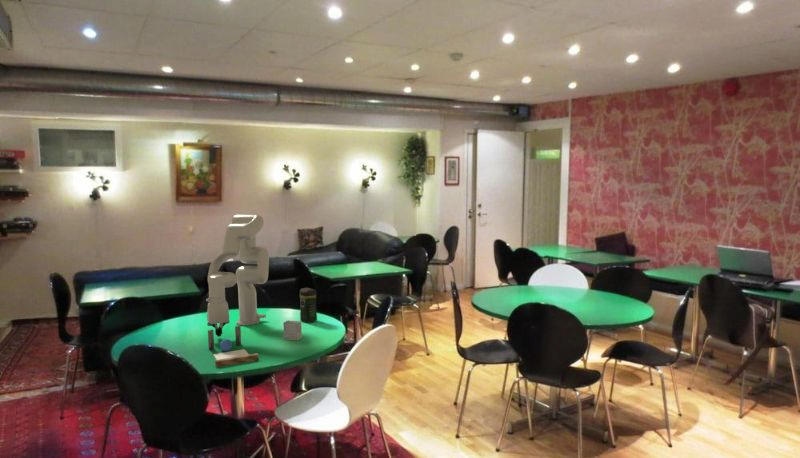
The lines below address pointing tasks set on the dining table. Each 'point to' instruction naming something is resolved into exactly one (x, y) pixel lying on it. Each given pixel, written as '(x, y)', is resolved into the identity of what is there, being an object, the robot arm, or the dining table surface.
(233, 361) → the stopper wall
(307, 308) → the coffee jar
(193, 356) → the dining table surface
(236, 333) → the post
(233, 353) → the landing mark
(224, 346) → the ball
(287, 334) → the medicine box
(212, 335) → the post
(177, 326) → the dining table surface
